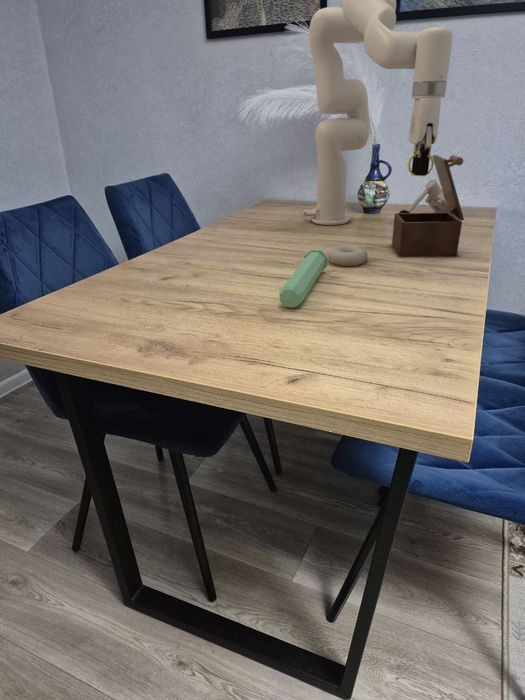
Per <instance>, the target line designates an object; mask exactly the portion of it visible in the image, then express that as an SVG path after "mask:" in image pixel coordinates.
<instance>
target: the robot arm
mask: <svg viewBox="0 0 525 700" xmlns="http://www.w3.org/2000/svg"><path fill="white" fill-rule="evenodd" d="M396 10H397V0H342V3H341V6H329V7H324V8H320V9H319V10H317V11H315V13H313V16H312V18H311V20H310V24H309V29H308V43H309V49H310V53H311V56H312V60H313V65H314V73H315V74H314V76H315V89H316V99H317V102H316V103H317V108H318V110H319V111H320V113H321V114H323V115H346V116H347V117H337V118H327V119H324V120H322V121H321V122H320V123H318V125H316V128H315V131H314V139H315V140H314V141H315V147H316V154H317V156H316V157H317V177H316V179H317V182H316V206H315V208H312V209H303V216H306V217H311V221H312V223H313V224H316V225H322V226H338V225H345V224H347V223H349V222H350V217H349V216H348V215H346V201H347V200H346V199H347V175H348V165H347V161H346V159H345V156H344V155H343V152H346V151H347V152H348V151H358V150H361V149H363V148H364V147H366V145H367V144H368V141H369V137H370V116H369V114H370V113H369V96H368V91H367V88H366V85H365V84H364V82H362V81H361V80H359V79H355V78H354V79H353V78H351V79H350V78H348V79H347V78H345V75H344V61H343V58H342V56H341V55H340V52H339V50H338V49H337V48H336V47H335V46H334V44H360V43H363V44H364V50H365V53H366V55H367V56H368V57H369V58H370V59H371V60H372V61H373V62H374V63H375V64H377V65H378V66H379V67H380V68H383V69H387V70H413V79H412V88H411V89H412V90H411V100H413V99H414V101H413V106H412V109H411V110H412V111H411V117H410V125H409V132H408V142H409V143H410V144H412V145H414V146H413V147H414V148H413V155H414V154H415V153H417V151H418V154H417V155H415V156H414V157H413V158H412V165H411V171H412V172H413V173H414V175H426V176H427V175H429V174H428V172H429V169H430V161H431V159H430V155H431V151H432V145H434V144H435V143H436V142H437V139H438V132H439V124H440V114H441V102H442V100H441V99H442V98H446V92H447V84H448V76H449V69H450V60H451V53H452V52H451V51H452V45H453V37H454V34H453V30H452V29H451V28H450V27H446V26H436V27H429V28H424V29H422V30H421V31H403V30H399V31H398V30H397V31H396V30H395V31H394V29H395V26H396V22H397V14H396Z"/></svg>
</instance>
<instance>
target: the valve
mask: <svg viewBox="0 0 525 700" xmlns="http://www.w3.org/2000/svg"><path fill="white" fill-rule="evenodd" d="M426 196H427V197H426ZM425 197H426V199H425ZM423 199H425V200H424V201H425V203H426V204H428V206H429V207H430V209H431V210H433V212H432V213H446V212H449V211H448V208H447V205H446V201H445V198H444V194H443V191H442V187H441V185H439V183H438V181H437V180H436V179H430V180H429V181H427V183H426V184H425V189H424V190H423V192H421V194H419V196H417V198H416V199H415V200H414V201H413V202H412V203H411V205H410V206H409V207H408V208H407V209H402V210H400V211H399V212H398V213H412V211H414V209H415V208H416V207H417V206H418V205H419V204H420V203H421V202H422V200H423ZM451 214H452V213H451ZM452 215H453V214H452Z"/></svg>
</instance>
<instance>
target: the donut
mask: <svg viewBox="0 0 525 700" xmlns="http://www.w3.org/2000/svg"><path fill="white" fill-rule="evenodd" d="M327 256H328V261H329V262H330V263H332V264H334V265H337V266H341V267H342V266H343V267H353V266H359V265H361V264H363V263H364V262H366V260H367V259H368V252H367V250H366V249H365V248H364V247H361V246H359V245H354V244H353V245H352V244H341V245H336V246H333V247H332V248H330V249H329V251H328V252H327Z"/></svg>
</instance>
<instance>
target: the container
mask: <svg viewBox="0 0 525 700" xmlns="http://www.w3.org/2000/svg"><path fill="white" fill-rule="evenodd" d="M328 261H329V259H328V254H326V253H325V252H324V251H323V250H322V249H318V248H311V249H310V250H309V251H308V252H307V253H305V255H304V259H303V260H302V261H301V263H300V264H299V265H298V267H297V268H296V269H295V270H294V272H293V273H292V274H291V276H290V277H289V278H288V280H287V281H286V282H285V283H284V284H283V286H282V287H281V288H280V290H279V302H280V303H281V304H282V305H283V306H284V307H285V308H294V309H295V308H297V307H298V306H299V305H301V303H302V302H303V301H304V300H305V298H306V296H307V295H308V293H309V292H310V290H311V288H312V287H313V285H314V284H315V282H316V281H317V279H318V277H319V276H320V275H321V273H322V272H323V271H324V270H325V269H326V268H327V267H328V263H329V262H328Z"/></svg>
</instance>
